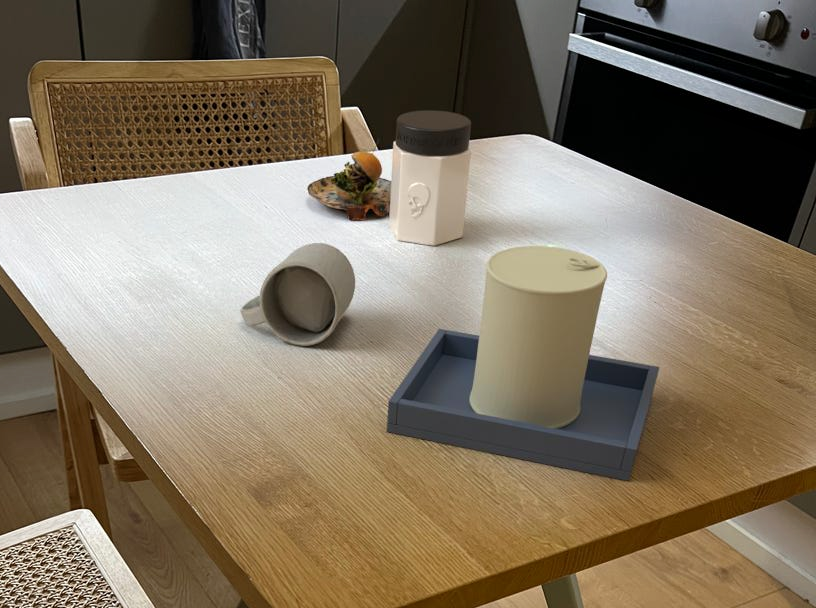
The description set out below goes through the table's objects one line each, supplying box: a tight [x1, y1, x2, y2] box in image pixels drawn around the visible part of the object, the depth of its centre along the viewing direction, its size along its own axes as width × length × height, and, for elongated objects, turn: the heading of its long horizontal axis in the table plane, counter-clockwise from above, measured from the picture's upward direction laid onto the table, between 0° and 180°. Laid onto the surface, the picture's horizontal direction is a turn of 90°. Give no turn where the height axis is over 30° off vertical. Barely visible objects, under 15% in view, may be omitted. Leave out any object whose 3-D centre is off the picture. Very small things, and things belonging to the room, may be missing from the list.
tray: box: [386, 328, 660, 482], centre depth 81 cm, size 20×15×3 cm
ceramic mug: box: [239, 242, 356, 347], centre depth 91 cm, size 11×8×8 cm
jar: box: [388, 110, 472, 247], centre depth 109 cm, size 9×8×12 cm
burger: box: [306, 138, 391, 222], centre depth 118 cm, size 12×12×8 cm
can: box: [470, 245, 608, 429], centre depth 77 cm, size 9×9×12 cm
